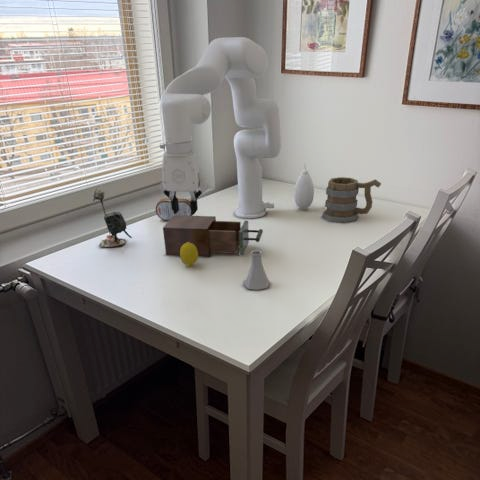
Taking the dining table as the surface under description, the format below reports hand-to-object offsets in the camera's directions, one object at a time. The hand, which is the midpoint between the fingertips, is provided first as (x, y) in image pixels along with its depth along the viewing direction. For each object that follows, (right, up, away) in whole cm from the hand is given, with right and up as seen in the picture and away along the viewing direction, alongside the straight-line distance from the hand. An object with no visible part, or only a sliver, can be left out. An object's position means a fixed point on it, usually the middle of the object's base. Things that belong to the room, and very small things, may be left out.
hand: (185, 212), depth 136 cm
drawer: (+14, -8, +18) cm, 24 cm away
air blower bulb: (+42, +13, +53) cm, 69 cm away
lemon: (+1, -15, +9) cm, 18 cm away
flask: (+21, -22, -3) cm, 30 cm away
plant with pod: (-27, -5, +27) cm, 39 cm away
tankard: (+58, +7, +42) cm, 73 cm away
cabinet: (0, -8, +21) cm, 22 cm away
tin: (-9, +8, +47) cm, 48 cm away
